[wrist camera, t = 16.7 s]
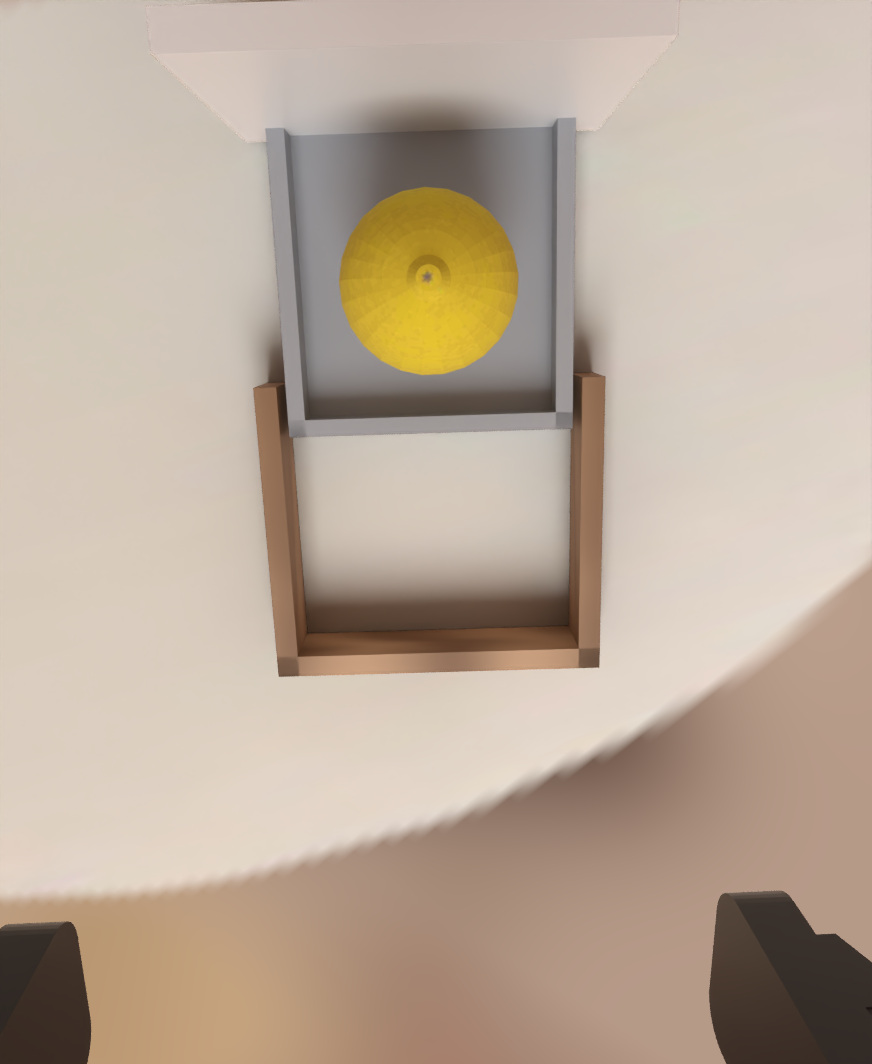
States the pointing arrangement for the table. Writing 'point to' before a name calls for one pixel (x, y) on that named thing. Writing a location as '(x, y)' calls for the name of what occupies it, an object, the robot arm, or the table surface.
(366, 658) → the frame
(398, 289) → the lemon
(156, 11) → the tray
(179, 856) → the table surface
